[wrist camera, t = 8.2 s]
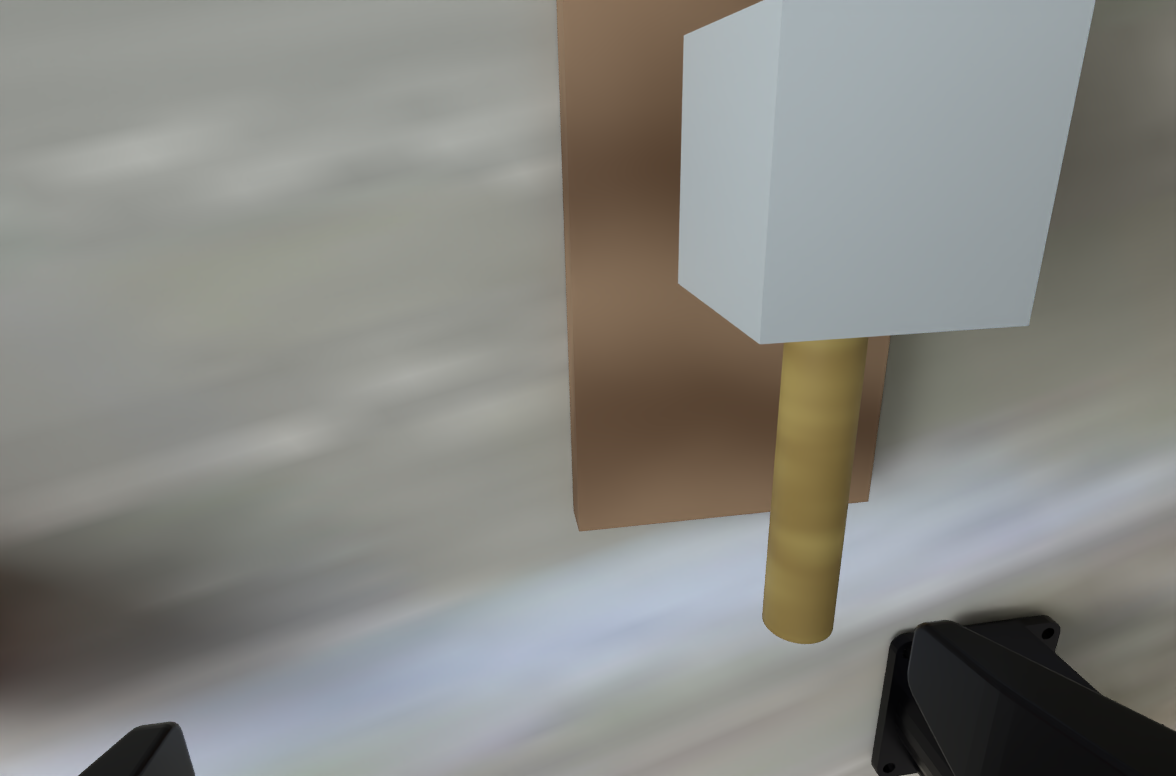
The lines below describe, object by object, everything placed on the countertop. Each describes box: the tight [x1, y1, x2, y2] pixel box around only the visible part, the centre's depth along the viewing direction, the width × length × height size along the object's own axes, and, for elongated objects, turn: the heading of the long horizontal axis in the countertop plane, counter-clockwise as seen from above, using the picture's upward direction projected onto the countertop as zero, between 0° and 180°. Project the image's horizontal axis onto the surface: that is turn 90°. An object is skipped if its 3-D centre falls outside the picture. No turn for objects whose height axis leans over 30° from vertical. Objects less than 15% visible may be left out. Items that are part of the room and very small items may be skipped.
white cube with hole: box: [678, 0, 1096, 344], centre depth 13 cm, size 5×5×5 cm
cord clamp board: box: [557, 0, 890, 644], centre depth 15 cm, size 18×9×8 cm, turn 1°
